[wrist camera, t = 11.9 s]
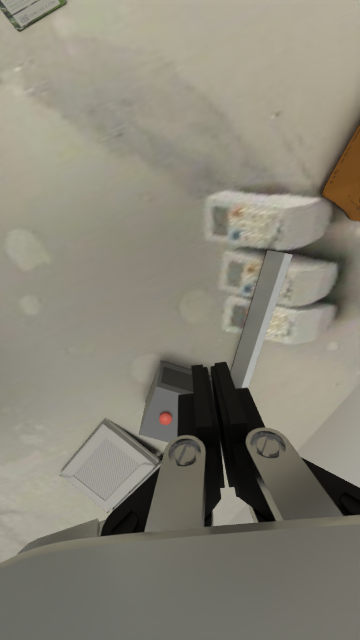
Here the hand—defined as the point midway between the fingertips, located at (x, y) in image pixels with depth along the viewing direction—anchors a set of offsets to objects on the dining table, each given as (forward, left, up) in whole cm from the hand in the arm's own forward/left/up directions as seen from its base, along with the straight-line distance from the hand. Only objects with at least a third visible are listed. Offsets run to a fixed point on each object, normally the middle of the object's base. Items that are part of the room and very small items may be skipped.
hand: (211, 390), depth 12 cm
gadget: (+2, -36, -23) cm, 42 cm away
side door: (+9, -2, -22) cm, 23 cm away
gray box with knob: (+5, -16, -22) cm, 27 cm away
